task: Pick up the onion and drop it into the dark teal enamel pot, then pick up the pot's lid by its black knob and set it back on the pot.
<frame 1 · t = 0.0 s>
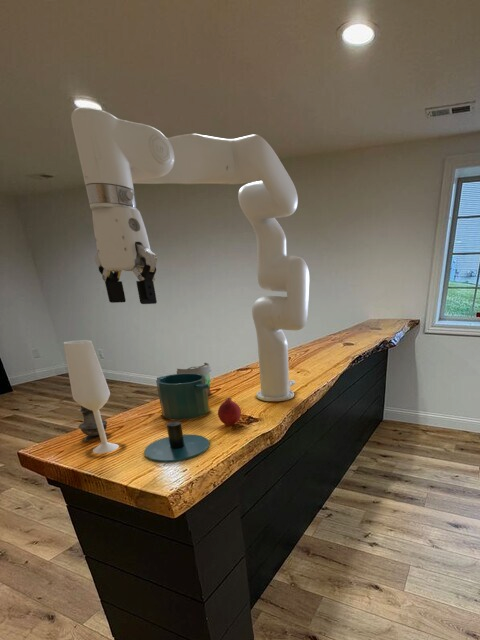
hand: (132, 303, 69), 31 cm above the table, tool pointing down, fingers open, 9 cm apart
lid: (178, 448, 78), point 1 cm above the table
onion: (231, 427, 92), on the table
pot: (186, 413, 101), on the table
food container: (201, 396, 118), on the table
grey lumpy figure: (97, 438, 85), on the table
champagne flute: (106, 451, 78), on the table
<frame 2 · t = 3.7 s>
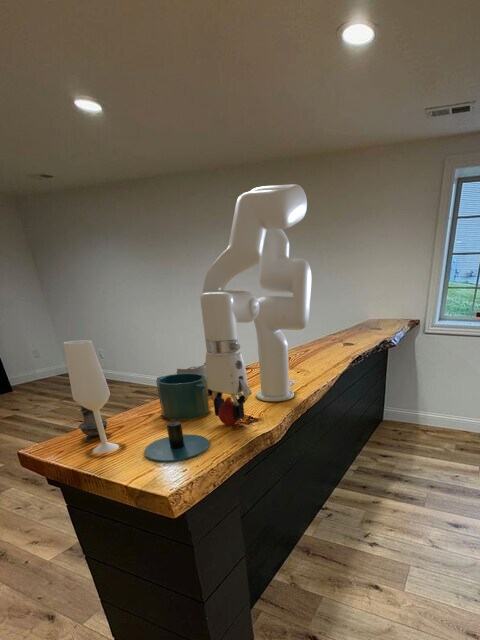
hand: (229, 415, 91), 3 cm above the table, tool pointing down, fingers closed on onion, 5 cm apart
onion: (231, 427, 92), on the table, touching gripper
everything else where it was.
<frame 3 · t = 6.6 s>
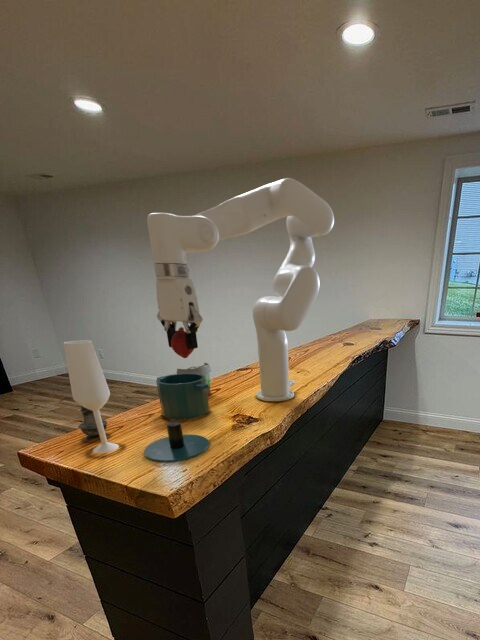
hand: (183, 346, 92), 19 cm above the table, tool pointing down, fingers closed on onion, 5 cm apart
onion: (185, 358, 93), point 16 cm above the table, touching gripper
everything else where it was.
when the fingers open (11 cm above the table, at t = 9.6 s): onion drops 7 cm, resting on pot.
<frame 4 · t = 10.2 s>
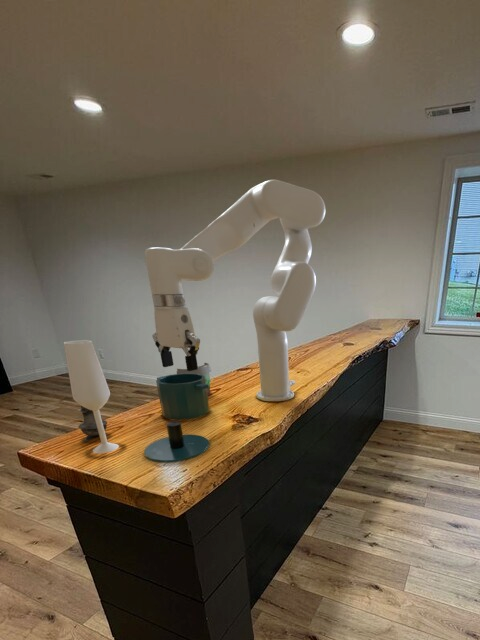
hand: (180, 368, 96), 13 cm above the table, tool pointing down, fingers open, 9 cm apart
onion: (186, 410, 101), point 1 cm above the table, touching pot
everything else where it was.
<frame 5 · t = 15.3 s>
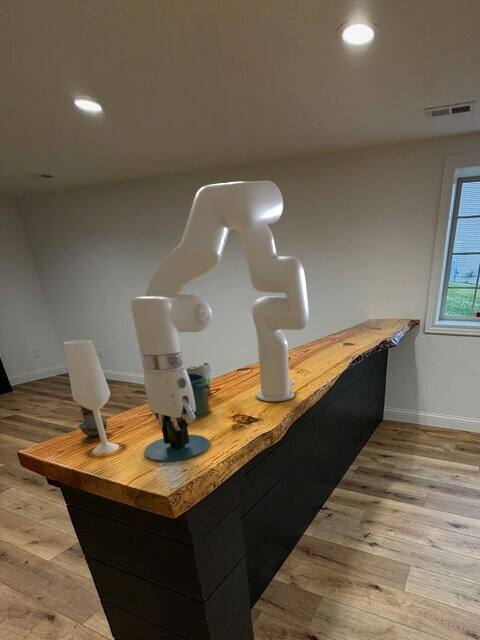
hand: (176, 442, 78), 2 cm above the table, tool pointing down, fingers closed on lid, 3 cm apart
lid: (178, 448, 78), point 1 cm above the table, touching gripper
everything else where it was.
when the fingers open (12 cm above the table, at t = 23.5 s): lid stays where it is, resting on pot.
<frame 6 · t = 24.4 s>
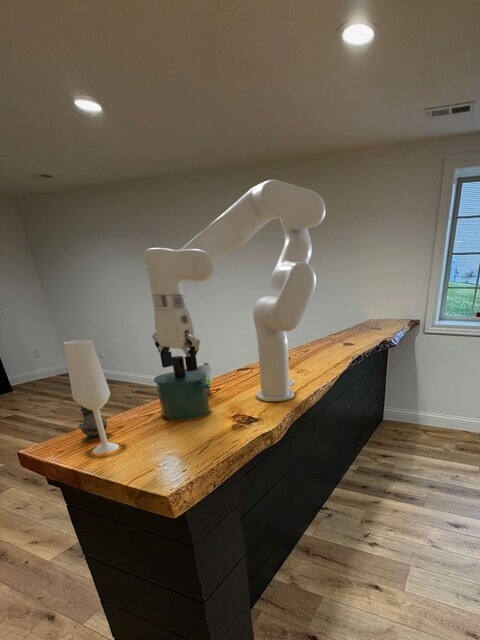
hand: (179, 368, 96), 13 cm above the table, tool pointing down, fingers open, 9 cm apart
lid: (180, 378, 97), point 10 cm above the table, touching pot
everything else where it was.
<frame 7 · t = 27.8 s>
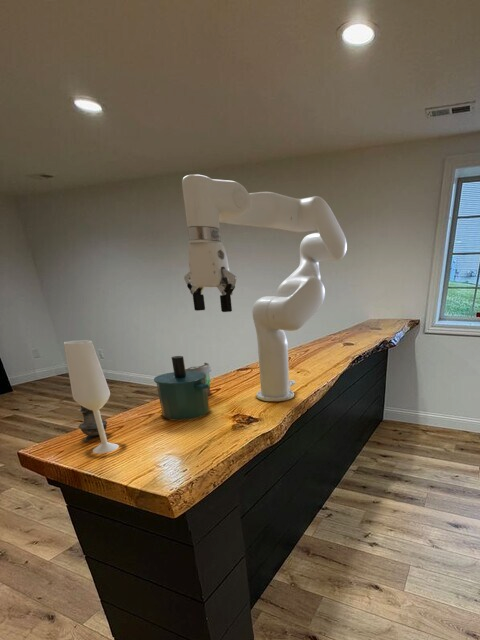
hand: (213, 311, 92), 28 cm above the table, tool pointing down, fingers open, 9 cm apart
nothing on the table moved.
at the end: onion inside the target area in the pot (0.1 cm from its centre), point 1.1 cm above the pot's base; lid 0.1 cm off-centre on the pot, point 10.5 cm above the pot's base; lid tilted 0° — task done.
